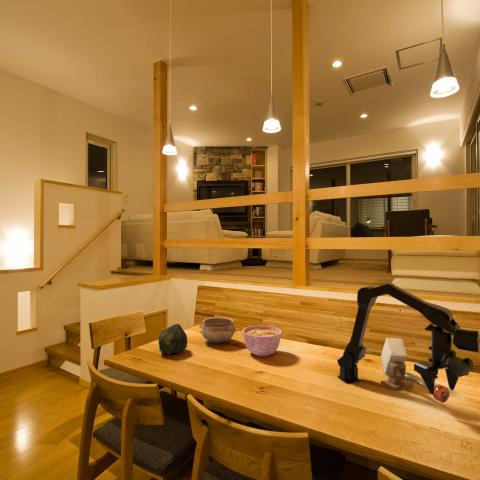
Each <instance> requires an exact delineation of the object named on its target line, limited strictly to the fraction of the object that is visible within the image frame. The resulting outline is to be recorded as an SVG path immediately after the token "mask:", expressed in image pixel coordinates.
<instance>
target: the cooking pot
mask: <svg viewBox="0 0 480 480" xmlns="http://www.w3.org/2000/svg"><path fill="white" fill-rule="evenodd" d="M234 322H235V321H234V319H233V318H229V317H226V316H212V317H207V318H204V319H203V320H202V323H199V324H198V327H199V329H200V330H201V335H202V337H203V338H204V339H205V340H207V341H208V342H210V343H212V344H213V343H214V345H221V343H222V344H224V343H226V342H227V341H229V340H231V339H232V338H233V337H234V335H235V334H236V332H238V331H239V328H235V325H234Z"/></svg>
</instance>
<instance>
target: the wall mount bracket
mask: <svg viewBox="0 0 480 480" xmlns="http://www.w3.org/2000/svg"><path fill="white" fill-rule="evenodd" d="M406 365H407V364H406V363H402V362H400V361H399V362H392V363H387V376H388V379H385V380H380V385H382V386H384V387H385V388H387V389H389V390H391V391H397V390H404V389H407V388H408V389H409V388H412V387H413V385H414V384H413V383H411V382H409V381H407V380H406V379H405V377H404V375H405V374H407V373H406V372H407V370H406V369H407V366H406Z"/></svg>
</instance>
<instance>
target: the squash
mask: <svg viewBox="0 0 480 480" xmlns="http://www.w3.org/2000/svg"><path fill="white" fill-rule="evenodd" d="M157 343H158V348H159V351H160V352H161V353H162V354H164V355H172V354H177V353H182V352H184V351H185V350H186V348H187V347H188V335H187V334H186V332H185V330H184V329H183V327H182V326H181V324H180V323H175V324H173V325H171V326H169V327H167V328H166V329H164V330H162V331H161V332H160V334H159V337H158V342H157Z"/></svg>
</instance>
